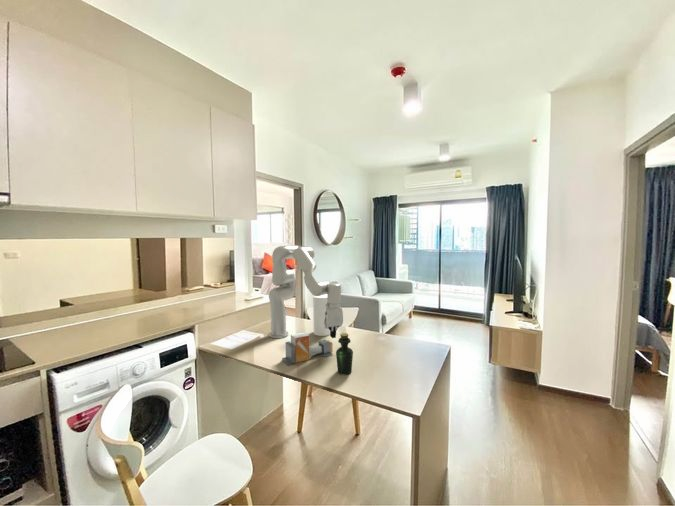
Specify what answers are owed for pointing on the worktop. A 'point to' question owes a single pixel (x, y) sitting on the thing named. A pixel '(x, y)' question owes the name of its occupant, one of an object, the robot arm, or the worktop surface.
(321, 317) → the cylinder
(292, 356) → the plate
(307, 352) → the small box
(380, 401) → the worktop surface
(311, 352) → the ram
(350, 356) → the potion bottle
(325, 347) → the guide block
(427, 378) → the worktop surface
